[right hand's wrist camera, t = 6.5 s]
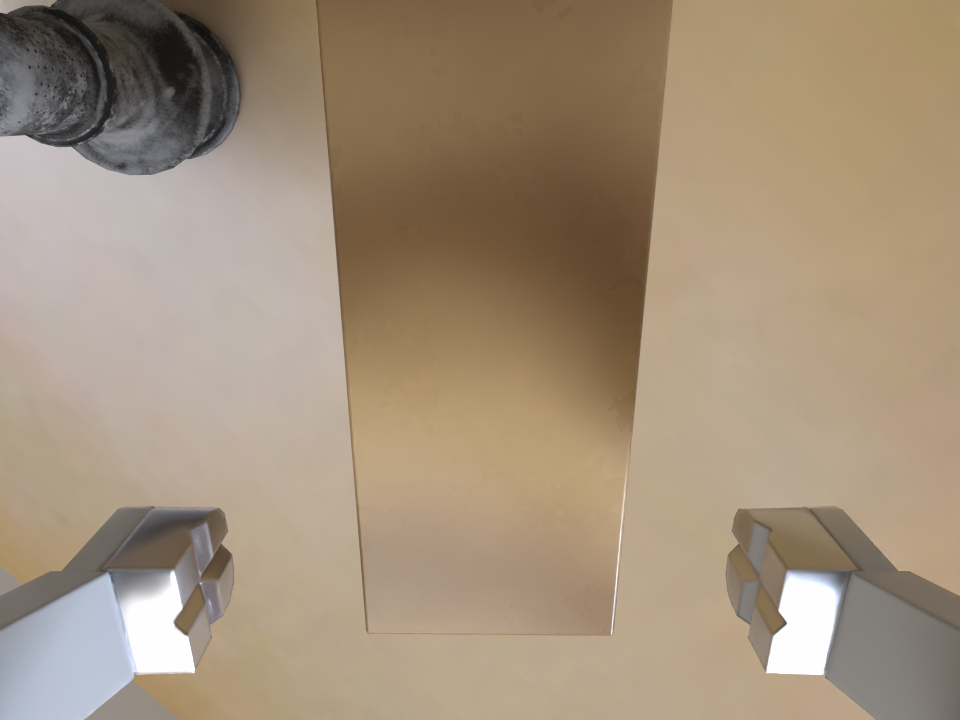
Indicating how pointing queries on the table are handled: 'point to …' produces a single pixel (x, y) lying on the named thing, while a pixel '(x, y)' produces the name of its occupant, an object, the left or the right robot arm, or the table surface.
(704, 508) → the table surface
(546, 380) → the bar
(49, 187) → the table surface
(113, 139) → the dark grey piece
